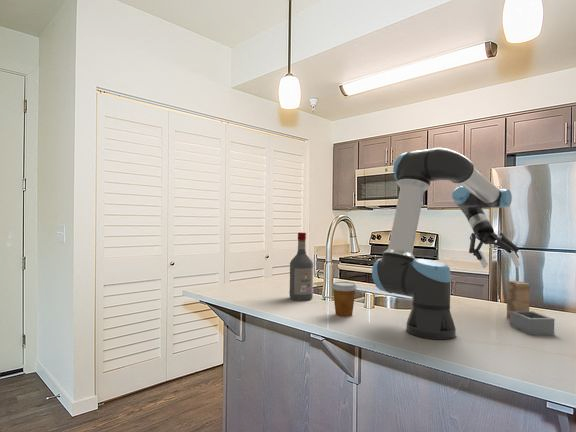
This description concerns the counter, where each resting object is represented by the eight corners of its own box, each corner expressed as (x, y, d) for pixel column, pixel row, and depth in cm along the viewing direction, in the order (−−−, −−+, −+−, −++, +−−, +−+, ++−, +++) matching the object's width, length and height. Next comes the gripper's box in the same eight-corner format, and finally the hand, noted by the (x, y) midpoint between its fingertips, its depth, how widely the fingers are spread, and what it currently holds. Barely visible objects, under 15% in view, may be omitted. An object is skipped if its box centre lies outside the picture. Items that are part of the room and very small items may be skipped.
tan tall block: (506, 317, 142) (507, 280, 142) (518, 317, 143) (518, 281, 143) (517, 322, 136) (517, 283, 136) (529, 322, 137) (529, 283, 137)
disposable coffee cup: (361, 314, 144) (361, 283, 144) (347, 319, 137) (347, 286, 137) (340, 310, 151) (341, 280, 151) (326, 314, 144) (326, 283, 144)
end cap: (509, 325, 132) (510, 311, 132) (532, 325, 133) (533, 311, 133) (529, 334, 122) (529, 319, 122) (554, 334, 123) (554, 319, 123)
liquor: (314, 300, 169) (315, 233, 168) (295, 301, 165) (296, 233, 165) (305, 295, 177) (306, 232, 177) (287, 297, 173) (288, 232, 173)
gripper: (505, 232, 168) (527, 271, 153) (450, 232, 167) (468, 271, 152) (512, 220, 162) (537, 259, 148) (456, 220, 161) (475, 260, 146)
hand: (502, 265), depth 150 cm, fingers open, 13 cm apart
